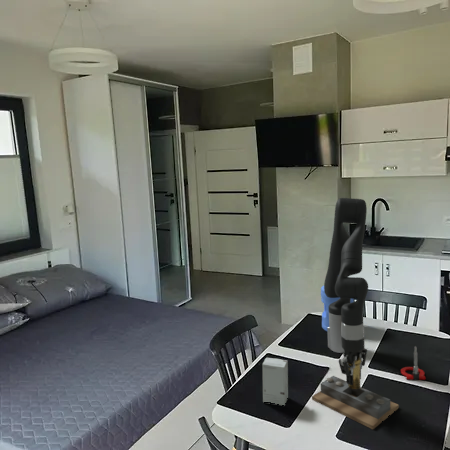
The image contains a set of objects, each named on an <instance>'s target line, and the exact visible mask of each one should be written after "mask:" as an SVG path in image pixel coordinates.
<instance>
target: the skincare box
mask: <svg viewBox="0 0 450 450" xmlns="http://www.w3.org/2000/svg"><path fill="white" fill-rule="evenodd" d="M288 361H289V360H287V359H280V358H272V357H266V358H265V359H264V361H263V362H262V402H263V403H264V402H271V403H275V404H274V405H277V404H279V405H278V406H282V405H284V406H283V407H285V406H286V404H285V403H287V401H288V399H289V377H288V376H289V367H288V366H289V365H288V364H289V363H288ZM287 398H288V399H287Z"/></svg>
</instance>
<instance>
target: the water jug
mask: <svg viewBox="0 0 450 450" xmlns="http://www.w3.org/2000/svg"><path fill="white" fill-rule="evenodd" d="M338 276H339V275H338ZM320 297H321V303H322V304H323V312H322V314H321V328H322V329H323V330H324V331H325V332H327V328H328V327H329V305H330V304H331V303H333V302H335V301H337V300H339V299H340V298H329V297H327V296H326V294H325V292H324V285H322V286H321V287H320ZM350 302H351V303H352V302H354V299H351V300H350Z"/></svg>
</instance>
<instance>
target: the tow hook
mask: <svg viewBox="0 0 450 450" xmlns="http://www.w3.org/2000/svg"><path fill="white" fill-rule="evenodd" d="M413 350H414V351H413V366H405V367H402V368H401V369H400V373H401V375H403V376H404V377H405V378H406V380H412V381H422V380H423V381H425V380H426V376H425V371H424V370H423V369H420V368H419V366H418V351H417V346H414V348H413ZM407 371H412V373H411V374H410V373H408V372H407Z"/></svg>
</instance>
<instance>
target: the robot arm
mask: <svg viewBox="0 0 450 450" xmlns="http://www.w3.org/2000/svg"><path fill="white" fill-rule="evenodd" d="M334 207H335V208H334V220H333V221H334V222H333V232H332V238H331V239H332V240H331V242H330V249H329V259H328V266H327V270H326V274H325V278H324V283H323V284H324V285H323V286H324V292H325V294H326V296H327V297H329V298H340V299H339V300H337V301H335V302H333V303H331V304H330V305H329V327H328V328H327V331H326V332H327V348H329V350H330V351H333V353H338V354H339V353H340V354H343V358H342V359H341V358H340V359H338V365H339V369H340V372H341V374H343V375H345V379H346V380H345V381H346V382H347V384H350V385H353V369H354V368H355V362H356V360H360V359H361V363H360V380H361V379H362V369H363V367H364V366H365V365H366V360H367V354H368V353H367V352H368V348H365V326H364V305H365V301H366V298H367V296H368V292H369V283H368V281H367V280H366V279H365V277H364V278H363V277H357V276H356V277H354V275H358V274H360V273H361V272H362V271H363V247H364V245H363V244H364V239H365V229H366V222H367V213H368V212H367V209H368V208H367V203H366V201H365V200H364V199H362V198H351V197H349V198H348V197H341V198H338V199H337V200H336V204H335V206H334ZM344 223H345V224H355V225H356V226H355V228H354V230H353V232H352V233H351V235H349V233H348V232H347V230H346V228H345V226H344ZM338 275H339V276H338ZM352 276H353V277H352ZM351 299H353V300H354V299H356V300H355V301H353V302H352V303H351V302H350V300H351ZM348 363H349V364H352V366H351V365H349V364H348ZM349 368H350V371H349Z"/></svg>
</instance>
